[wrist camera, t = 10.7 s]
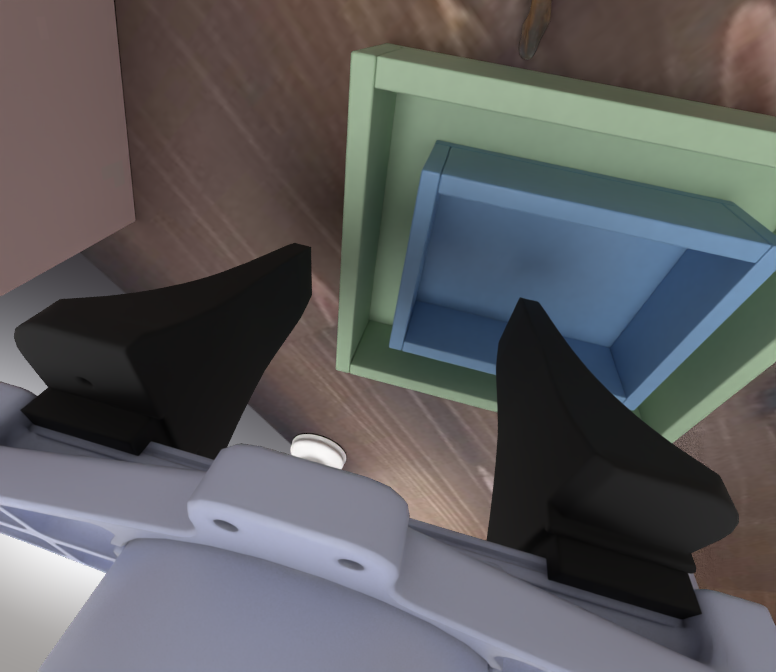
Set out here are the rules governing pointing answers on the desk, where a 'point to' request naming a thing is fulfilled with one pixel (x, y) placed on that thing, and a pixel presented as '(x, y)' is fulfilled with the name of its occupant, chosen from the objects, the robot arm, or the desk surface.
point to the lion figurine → (534, 27)
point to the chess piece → (318, 450)
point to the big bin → (550, 145)
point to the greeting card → (59, 134)
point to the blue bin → (571, 265)
